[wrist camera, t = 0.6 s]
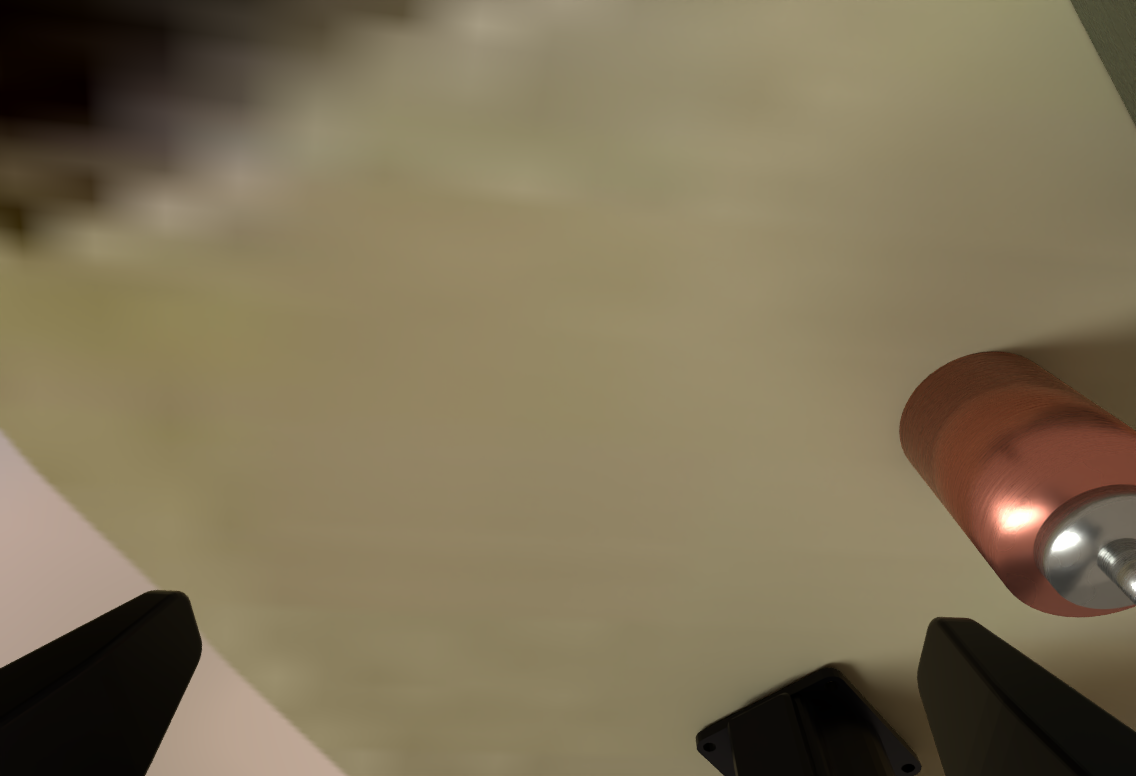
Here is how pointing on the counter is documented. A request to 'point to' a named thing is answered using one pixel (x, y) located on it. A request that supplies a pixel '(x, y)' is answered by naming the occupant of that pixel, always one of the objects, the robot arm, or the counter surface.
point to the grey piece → (1114, 42)
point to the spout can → (1031, 480)
